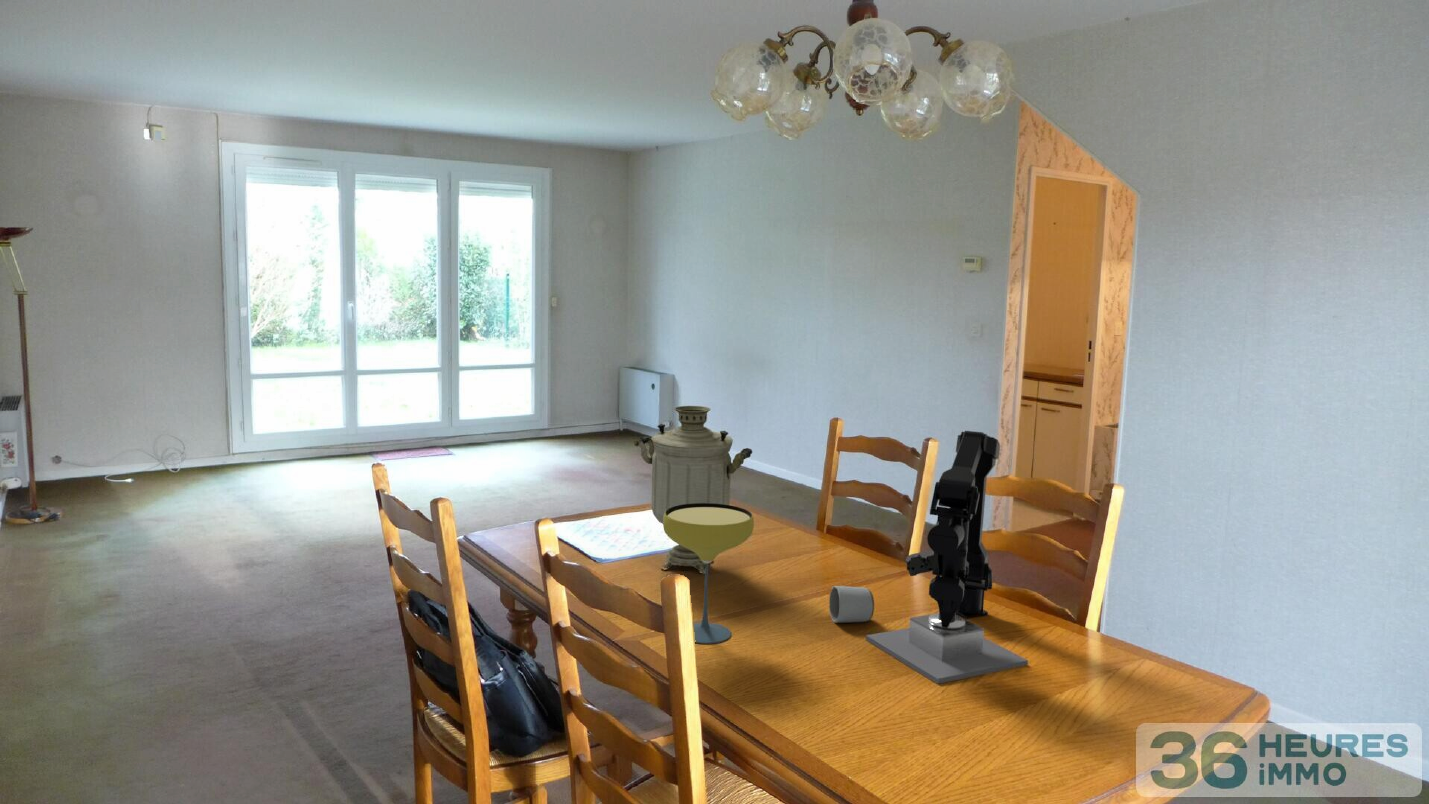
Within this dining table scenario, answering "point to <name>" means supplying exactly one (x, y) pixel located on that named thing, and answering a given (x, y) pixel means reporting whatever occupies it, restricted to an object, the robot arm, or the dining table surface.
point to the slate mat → (947, 670)
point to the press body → (946, 638)
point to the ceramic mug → (851, 604)
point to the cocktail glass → (708, 545)
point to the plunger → (954, 624)
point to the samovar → (689, 470)
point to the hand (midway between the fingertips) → (946, 619)
